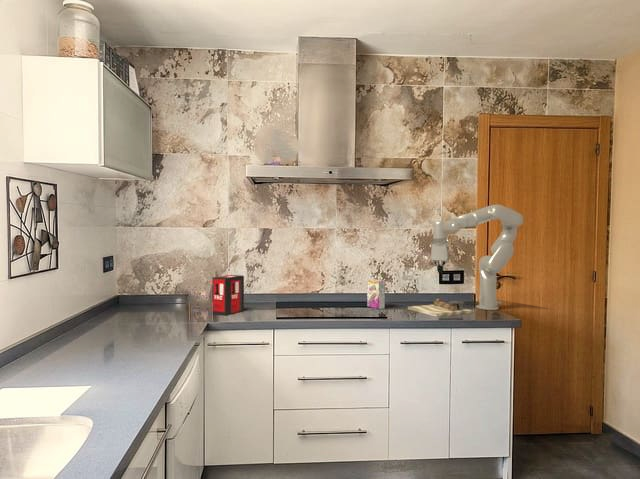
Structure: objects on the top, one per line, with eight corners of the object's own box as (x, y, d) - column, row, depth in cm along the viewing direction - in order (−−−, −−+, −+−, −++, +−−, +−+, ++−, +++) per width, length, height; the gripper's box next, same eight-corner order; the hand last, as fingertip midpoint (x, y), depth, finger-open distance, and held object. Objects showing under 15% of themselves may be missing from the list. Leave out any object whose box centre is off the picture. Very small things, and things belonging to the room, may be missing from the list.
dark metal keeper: (458, 308, 284) (458, 300, 284) (463, 309, 280) (464, 301, 280) (447, 309, 280) (447, 301, 280) (452, 310, 276) (452, 302, 276)
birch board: (441, 306, 301) (441, 303, 301) (472, 312, 279) (472, 310, 279) (407, 309, 289) (407, 306, 288) (436, 316, 266) (436, 313, 266)
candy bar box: (366, 306, 296) (366, 279, 296) (372, 306, 299) (373, 279, 299) (378, 309, 287) (379, 281, 286) (385, 308, 290) (385, 280, 289)
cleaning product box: (225, 315, 262) (225, 278, 261) (212, 314, 266) (212, 277, 265) (243, 311, 277) (243, 275, 276) (230, 309, 280) (230, 274, 280)
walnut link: (432, 304, 295) (432, 298, 295) (439, 304, 297) (439, 298, 296) (450, 310, 276) (451, 303, 275) (458, 310, 277) (458, 303, 277)
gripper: (454, 241, 290) (454, 272, 291) (429, 241, 298) (430, 271, 299) (450, 242, 284) (450, 273, 285) (425, 241, 292) (425, 272, 292)
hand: (440, 272), depth 292 cm, fingers closed
